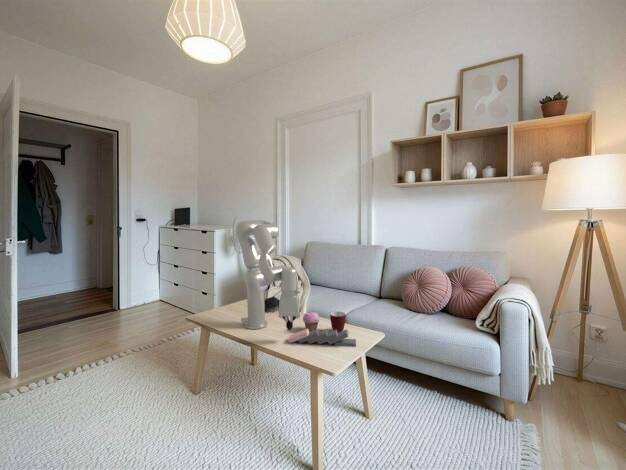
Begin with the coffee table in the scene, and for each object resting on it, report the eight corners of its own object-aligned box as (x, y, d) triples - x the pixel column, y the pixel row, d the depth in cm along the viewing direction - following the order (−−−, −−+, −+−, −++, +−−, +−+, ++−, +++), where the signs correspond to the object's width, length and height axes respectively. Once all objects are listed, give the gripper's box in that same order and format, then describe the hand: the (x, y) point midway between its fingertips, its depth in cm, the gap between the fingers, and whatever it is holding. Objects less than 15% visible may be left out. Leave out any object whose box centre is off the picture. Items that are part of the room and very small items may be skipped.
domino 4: (327, 341, 147) (346, 333, 146) (328, 337, 152) (346, 329, 151) (329, 344, 147) (348, 336, 146) (330, 340, 152) (348, 332, 151)
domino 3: (317, 341, 148) (335, 333, 146) (318, 336, 153) (336, 329, 151) (318, 344, 148) (337, 337, 146) (320, 340, 153) (338, 333, 151)
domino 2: (307, 340, 149) (325, 333, 147) (308, 336, 154) (326, 329, 152) (308, 344, 149) (327, 336, 147) (310, 340, 154) (328, 332, 152)
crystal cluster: (259, 308, 207) (258, 294, 205) (279, 305, 211) (277, 291, 209) (262, 316, 194) (260, 301, 193) (283, 312, 198) (281, 298, 196)
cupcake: (300, 329, 167) (299, 311, 166) (312, 326, 172) (312, 308, 172) (309, 334, 160) (309, 316, 159) (322, 330, 165) (322, 312, 165)
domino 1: (297, 340, 149) (316, 332, 148) (299, 335, 154) (317, 328, 153) (299, 343, 149) (318, 336, 148) (301, 339, 154) (319, 332, 153)
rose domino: (287, 339, 150) (306, 332, 148) (290, 335, 155) (307, 328, 153) (289, 343, 150) (307, 335, 148) (291, 339, 155) (309, 331, 153)
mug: (336, 326, 171) (336, 309, 170) (350, 329, 167) (350, 311, 166) (327, 333, 162) (327, 314, 161) (341, 336, 158) (341, 317, 157)
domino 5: (335, 342, 147) (355, 343, 146) (335, 338, 152) (355, 339, 151) (335, 346, 147) (355, 347, 146) (335, 342, 152) (355, 343, 151)
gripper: (305, 291, 153) (305, 327, 155) (276, 290, 155) (276, 326, 157) (302, 295, 146) (303, 332, 147) (272, 294, 148) (273, 331, 149)
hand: (289, 329), depth 152 cm, fingers closed
